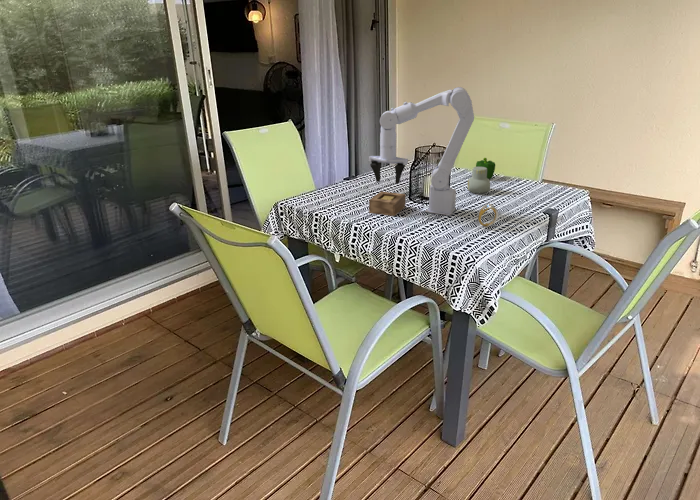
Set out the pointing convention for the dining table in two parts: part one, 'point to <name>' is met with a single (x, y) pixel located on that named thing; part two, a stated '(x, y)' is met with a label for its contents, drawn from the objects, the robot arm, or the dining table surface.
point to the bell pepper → (488, 165)
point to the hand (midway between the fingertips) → (387, 182)
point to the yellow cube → (388, 198)
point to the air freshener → (479, 181)
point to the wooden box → (387, 203)
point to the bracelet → (485, 211)
